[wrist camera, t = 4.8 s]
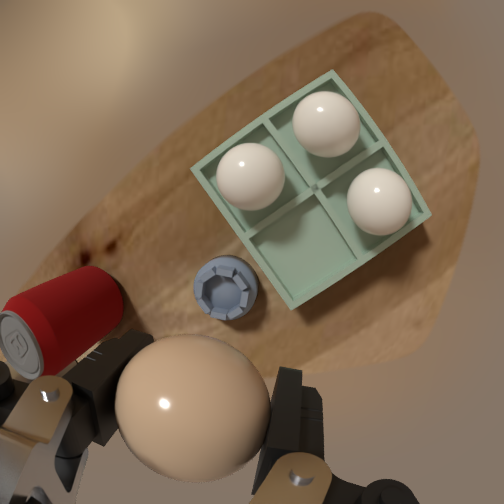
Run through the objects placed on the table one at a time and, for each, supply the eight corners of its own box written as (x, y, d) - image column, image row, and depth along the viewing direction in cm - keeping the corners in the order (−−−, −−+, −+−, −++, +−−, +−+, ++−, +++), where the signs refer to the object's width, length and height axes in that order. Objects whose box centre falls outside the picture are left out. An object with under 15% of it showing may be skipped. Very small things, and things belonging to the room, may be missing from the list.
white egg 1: (248, 220, 22) (236, 228, 18) (213, 171, 22) (193, 167, 18) (298, 185, 21) (299, 184, 17) (262, 135, 21) (253, 122, 17)
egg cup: (222, 322, 26) (215, 335, 24) (188, 276, 26) (177, 285, 24) (270, 293, 25) (267, 304, 23) (234, 243, 25) (227, 249, 22)
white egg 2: (317, 172, 21) (322, 168, 17) (280, 123, 21) (276, 107, 16) (366, 139, 20) (381, 128, 16) (329, 91, 20) (335, 69, 15)
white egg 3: (363, 242, 22) (378, 255, 17) (330, 191, 21) (338, 191, 17) (410, 209, 21) (434, 214, 16) (378, 158, 20) (397, 151, 16)
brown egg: (205, 429, 11) (168, 515, 6) (130, 345, 10) (58, 416, 6) (303, 388, 10) (297, 493, 5) (222, 284, 9) (162, 361, 5)
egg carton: (292, 297, 25) (291, 310, 22) (201, 170, 24) (189, 168, 21) (417, 211, 22) (431, 215, 20) (329, 82, 21) (332, 69, 19)
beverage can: (65, 286, 29) (-18, 327, 17) (99, 249, 27) (5, 284, 15) (102, 338, 29) (29, 397, 17) (140, 307, 27) (61, 371, 16)
